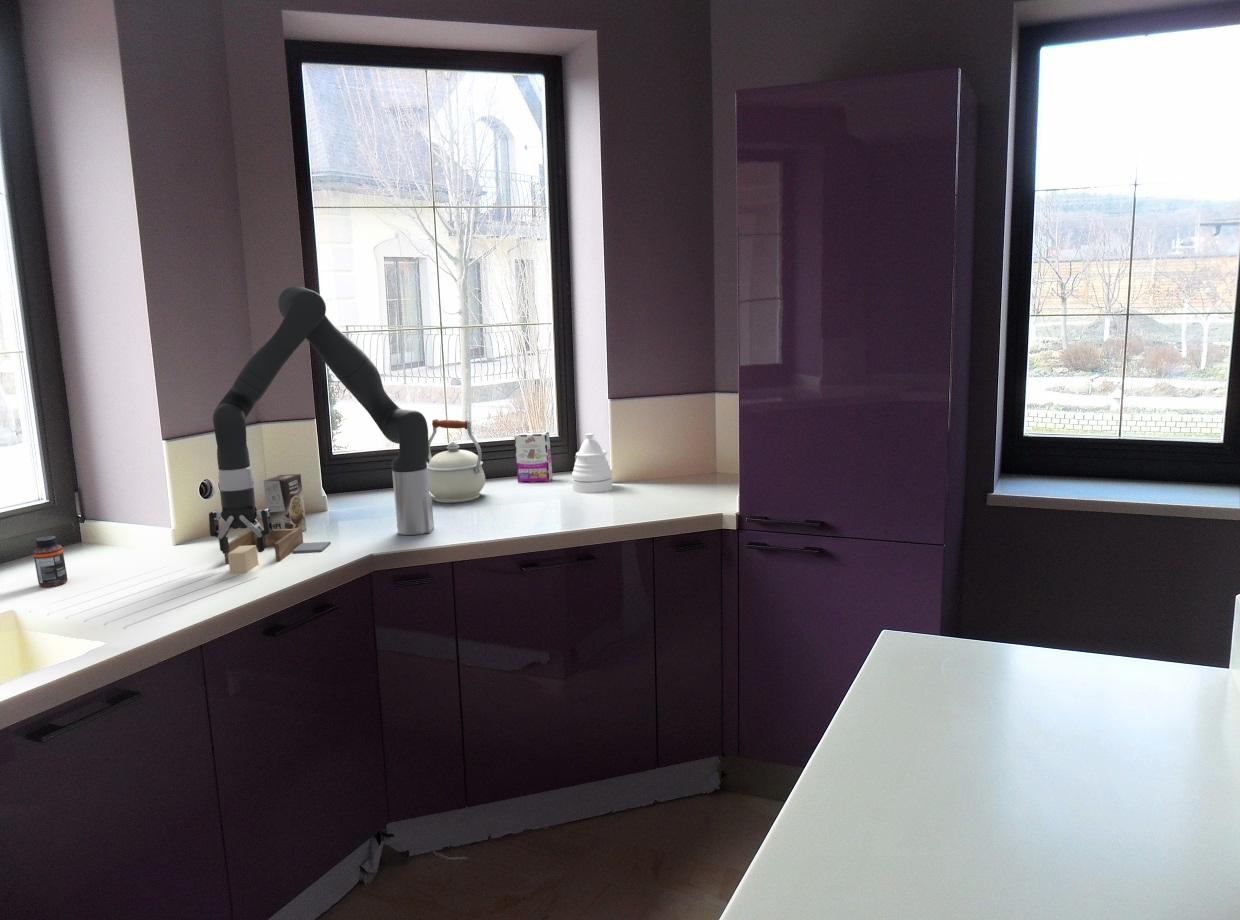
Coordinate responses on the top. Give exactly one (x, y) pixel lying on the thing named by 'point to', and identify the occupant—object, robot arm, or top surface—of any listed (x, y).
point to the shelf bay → (271, 541)
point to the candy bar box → (533, 457)
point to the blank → (243, 559)
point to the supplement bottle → (49, 562)
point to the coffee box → (285, 501)
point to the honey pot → (591, 468)
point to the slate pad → (311, 547)
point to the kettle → (455, 468)
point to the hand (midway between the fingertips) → (243, 552)
